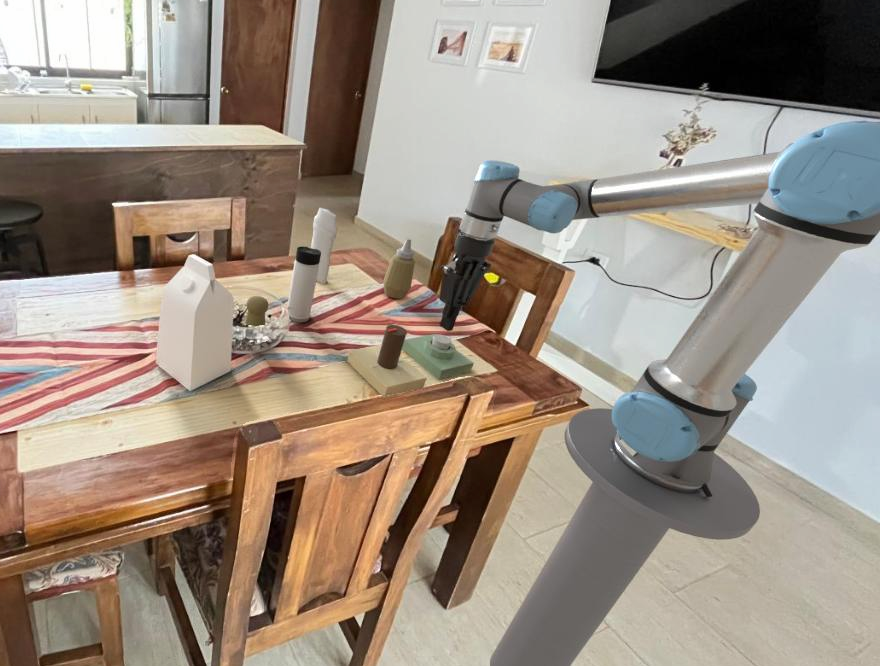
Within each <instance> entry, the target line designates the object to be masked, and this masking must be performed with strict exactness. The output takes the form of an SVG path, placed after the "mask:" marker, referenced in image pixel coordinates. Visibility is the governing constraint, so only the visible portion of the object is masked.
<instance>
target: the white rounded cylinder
mask: <svg viewBox="0 0 880 666" xmlns="http://www.w3.org/2000/svg"><path fill="white" fill-rule="evenodd" d="M312 228H313V231H312V236H311V237H312V238H311V244H310V248H312V249H318V250H320V251H321V257H320V264H319V269H318V275H317V280H316V282H318V283H320V284H322V285H326V284H327V280H328V276H329V271H330V265H331V255H332V250H333V246H334V241H335V239H337V238H336V237H337V234H338V233H337V232H338V227H337V215H336V214H335V213H333V212H332V211H331V210H329V209H327V208H323V207H319V208H318V210H317V213H316V215H315V216H314V217H313V223H312Z"/></svg>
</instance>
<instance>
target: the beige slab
mask: <svg viewBox="0 0 880 666" xmlns="http://www.w3.org/2000/svg"><path fill="white" fill-rule="evenodd" d="M381 345H382V343H381V344H377V345H371V346H366V347H361V348H356V349H351V350H349V351H348V355H347V359H346V362H347V363H348V364H349V365H350V366H351V367H352V368H353V369H354V370H356V372H357V373H359V375H361V376H362V378H364V380H365V381H366V382H367V383H368V384H369V385H370V386H372V388H373V389H374V390H375V391H376V392H378V394H379V395H380V396H382V397H383V396H387V395H392V394H397V393H402V392H406V393H408V392H407V391H411V390H415V391H418V390H417V389H419V390H422V388H423V389H424V387H425V384H426V381H427V376H426V375H424V374H423V373H422V372H421V371H420V370H419V369H417V368H416V367H415V366H414V365H412V363H410V362H409V361H408V360H407V359H405V358H404V357H403V356H402V355H401V354H400V357H399V361H398V364H397V367H396V368H395V369H386V368H383V367H381V366H380V365H379V364H378V362H377V360H378V356H379V353H380V349H381ZM411 392H412V391H411ZM402 394H403V393H402Z"/></svg>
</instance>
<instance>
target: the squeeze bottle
mask: <svg viewBox="0 0 880 666" xmlns="http://www.w3.org/2000/svg"><path fill="white" fill-rule="evenodd" d="M414 254H415V252H414V250H412V239H411V238H406V240H405V242H404V244H403V246H402V247H398V248H397V250H396V254H394V255H393V256H392V257H391V259H390V262H389V264H388V268H387V270H386V273H385V275H384V278H383V290H384V291H383V292H384V294H385V295H386V296H387V297H389V298H392V299H397V300H399V299H404V297H406V296H407V294H408V292H410V289H411V288H412V282H413V278H414V277H413V276H414V271H415V264H416V260H415V259H414Z"/></svg>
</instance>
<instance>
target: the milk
mask: <svg viewBox="0 0 880 666" xmlns="http://www.w3.org/2000/svg"><path fill="white" fill-rule="evenodd" d="M234 300H235V299H234V296H233V294H232V293H231V291H229V290H228V289H227V288H226V287H225V286H224V285H222V284H221V283H220V282H219V281H217V279H216V274H215V268H214V265H213V263H211V262H209V261H207V260H205V259H203V258H202V257H200V256H198V255H197V254H195V253H193V254H189V255H188V256H187V258H186V260H185V262H184V266H182V267H181V268H180V270H178V272H177V273H176V274H175V275H173V277H172V278H171V279H170V280H169V281H168V282H167V283H166V285H165V286H164V288H163V289H162V291H161V298H160V309H159V310H160V311H159V322H158V333H157V343H156V353H155V364H156V365H157V366H158V367H159V368H160V369H162V370H163V371H165V372H166V373H167V374H168V375H169V376H170V377H172V378H173V379H174V380H176V381H177V382H178V383H179V384H181V385H182V386H183V387H184V388H185V389H187V391H189V392H191V391H193V390H196V389H197V388H199V387H202V386H204V385H206V384H208V383H210V382H211V381H214V380H216V379H217V378H220V377H221V376H223V375H225V374H227V373H230V372H231V371H232V350H233V327H234V308H235V307H234V305H235V301H234Z"/></svg>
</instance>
